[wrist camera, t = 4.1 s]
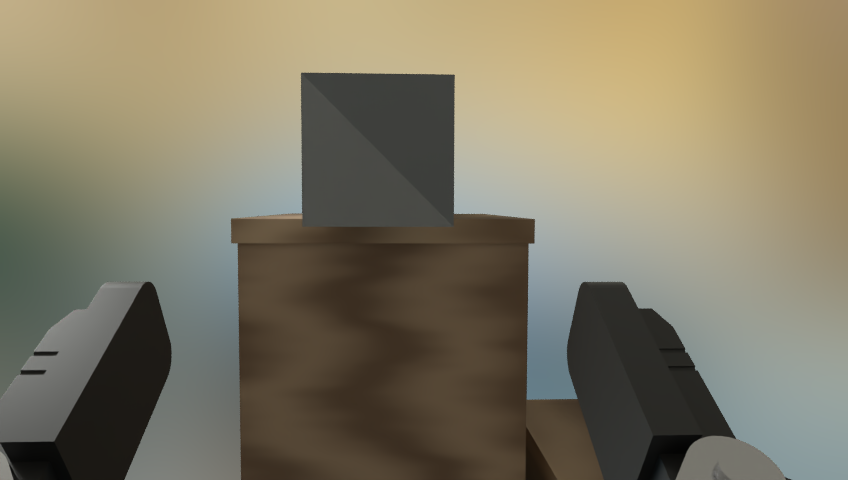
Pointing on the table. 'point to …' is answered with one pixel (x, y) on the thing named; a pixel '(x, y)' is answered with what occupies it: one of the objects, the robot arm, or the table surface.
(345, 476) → the wooden plank crate
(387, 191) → the bar
